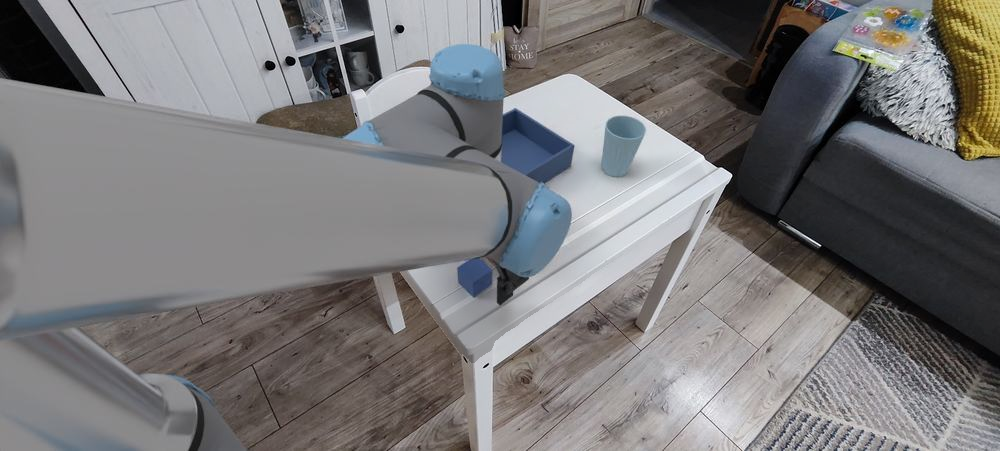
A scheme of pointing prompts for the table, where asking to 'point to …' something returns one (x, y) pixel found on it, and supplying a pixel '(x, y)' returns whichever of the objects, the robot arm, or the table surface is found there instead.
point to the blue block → (474, 276)
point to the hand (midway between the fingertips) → (476, 272)
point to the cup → (621, 144)
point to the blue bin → (533, 147)
